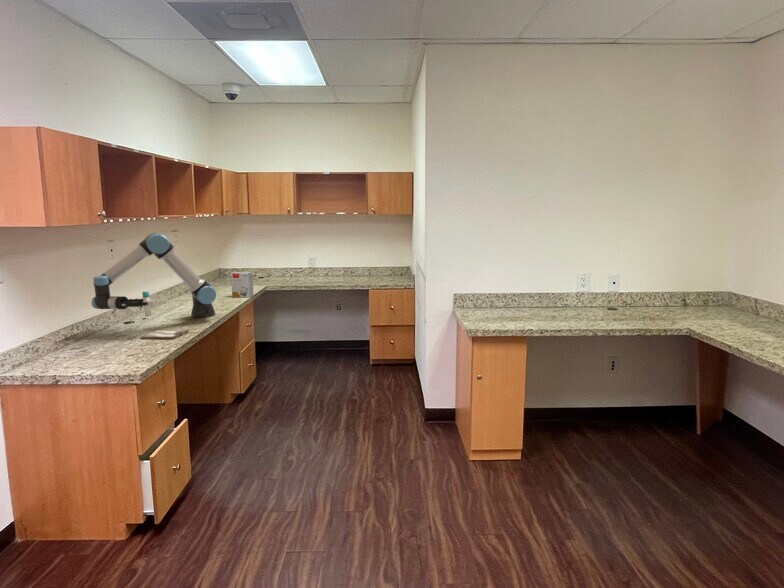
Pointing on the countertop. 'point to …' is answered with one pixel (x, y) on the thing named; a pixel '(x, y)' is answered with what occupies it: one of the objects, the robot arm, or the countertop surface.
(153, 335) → the clipboard
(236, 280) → the hard drive box
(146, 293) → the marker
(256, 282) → the countertop surface
